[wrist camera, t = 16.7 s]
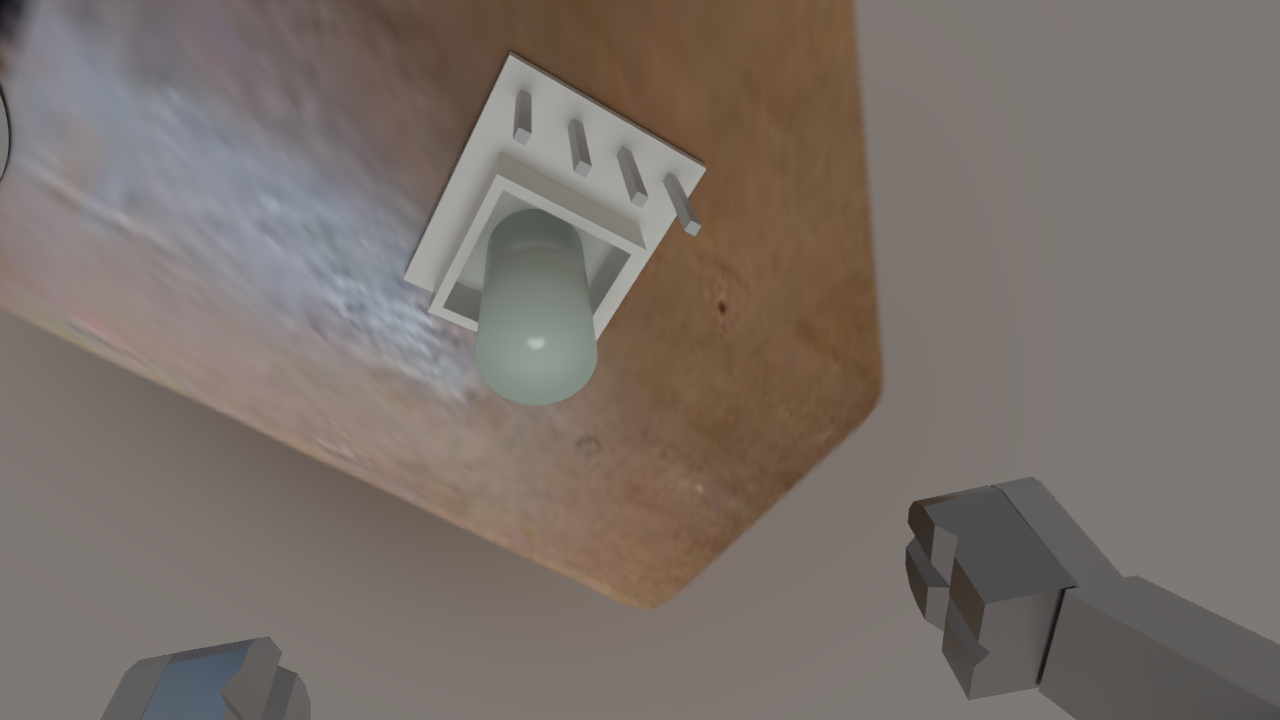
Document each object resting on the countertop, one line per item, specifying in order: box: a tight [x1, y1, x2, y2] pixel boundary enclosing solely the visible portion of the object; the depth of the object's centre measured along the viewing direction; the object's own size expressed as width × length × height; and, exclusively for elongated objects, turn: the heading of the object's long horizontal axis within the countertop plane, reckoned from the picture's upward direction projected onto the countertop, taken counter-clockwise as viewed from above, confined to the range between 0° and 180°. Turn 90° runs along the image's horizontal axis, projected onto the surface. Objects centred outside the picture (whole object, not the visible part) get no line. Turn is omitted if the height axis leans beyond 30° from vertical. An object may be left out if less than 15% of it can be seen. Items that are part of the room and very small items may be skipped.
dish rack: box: [403, 51, 706, 341], centre depth 39 cm, size 14×12×8 cm
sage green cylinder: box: [475, 209, 597, 405], centre depth 38 cm, size 6×6×11 cm
